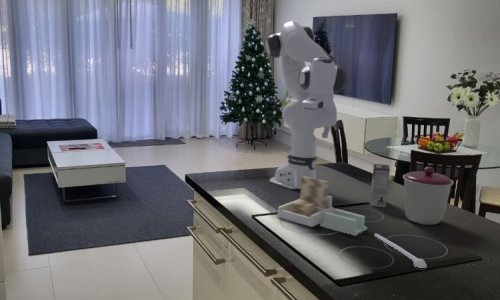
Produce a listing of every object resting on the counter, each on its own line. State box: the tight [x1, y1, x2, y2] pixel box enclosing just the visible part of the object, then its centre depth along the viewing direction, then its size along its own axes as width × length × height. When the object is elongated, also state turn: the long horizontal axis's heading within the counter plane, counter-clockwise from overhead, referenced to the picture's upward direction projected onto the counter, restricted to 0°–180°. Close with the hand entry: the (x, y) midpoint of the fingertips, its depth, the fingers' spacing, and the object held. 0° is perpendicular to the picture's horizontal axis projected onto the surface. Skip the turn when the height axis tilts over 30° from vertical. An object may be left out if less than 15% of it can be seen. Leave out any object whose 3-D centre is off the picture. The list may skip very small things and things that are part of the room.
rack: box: [277, 195, 335, 228], centre depth 191 cm, size 15×15×8 cm
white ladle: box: [374, 233, 428, 269], centre depth 163 cm, size 28×4×3 cm, turn 18°
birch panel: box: [299, 176, 330, 209], centre depth 194 cm, size 11×2×14 cm, turn 52°
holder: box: [319, 208, 368, 237], centre depth 182 cm, size 14×9×5 cm, turn 52°
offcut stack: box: [292, 199, 315, 217], centre depth 190 cm, size 7×6×6 cm
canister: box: [402, 166, 455, 226], centre depth 192 cm, size 18×18×21 cm
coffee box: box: [370, 163, 391, 208], centre depth 212 cm, size 9×6×16 cm
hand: (318, 139), depth 190 cm, fingers open, 8 cm apart
